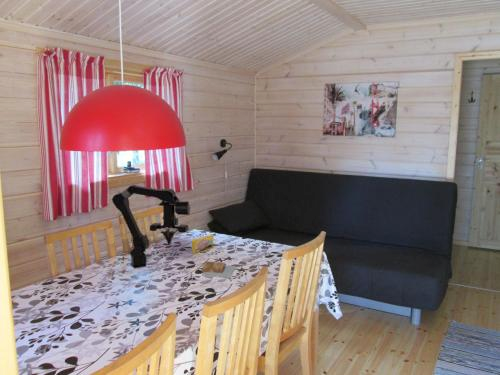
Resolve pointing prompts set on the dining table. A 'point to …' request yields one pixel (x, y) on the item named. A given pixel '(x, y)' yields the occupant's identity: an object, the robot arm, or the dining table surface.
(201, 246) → the candy box
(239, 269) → the dining table surface
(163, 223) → the robot arm
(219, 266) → the walnut block
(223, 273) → the mat
